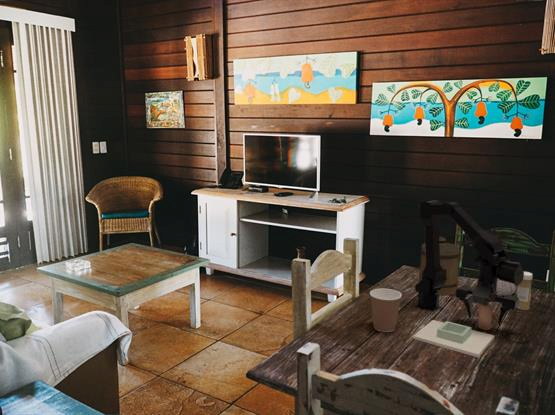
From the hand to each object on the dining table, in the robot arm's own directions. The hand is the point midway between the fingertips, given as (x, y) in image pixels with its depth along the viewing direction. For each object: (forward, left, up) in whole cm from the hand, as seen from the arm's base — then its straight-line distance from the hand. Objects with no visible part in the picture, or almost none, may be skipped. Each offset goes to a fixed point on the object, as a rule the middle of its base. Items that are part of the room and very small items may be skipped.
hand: (484, 321), depth 163 cm
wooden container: (-26, +27, -2) cm, 37 cm away
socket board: (-5, -15, -2) cm, 16 cm away
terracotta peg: (0, 0, -2) cm, 2 cm away
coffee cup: (-26, -21, -2) cm, 34 cm away
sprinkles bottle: (+6, +26, -2) cm, 27 cm away
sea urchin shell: (-6, +38, -2) cm, 39 cm away
